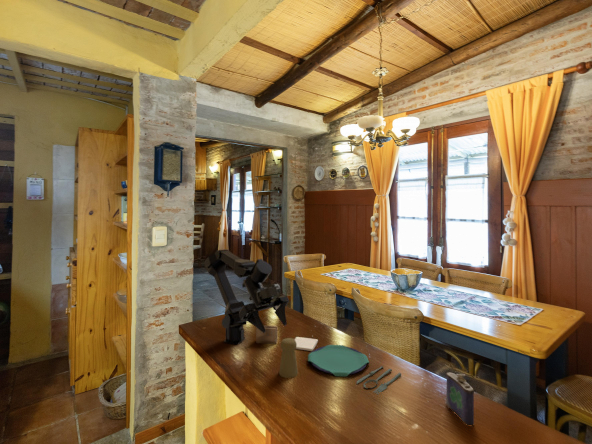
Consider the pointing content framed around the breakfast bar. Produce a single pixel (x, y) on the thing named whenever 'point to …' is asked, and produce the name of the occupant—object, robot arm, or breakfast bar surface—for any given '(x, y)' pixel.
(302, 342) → the plate
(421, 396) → the breakfast bar surface
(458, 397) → the flask
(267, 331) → the napkin holder
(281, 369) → the cork
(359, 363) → the cutlery set
